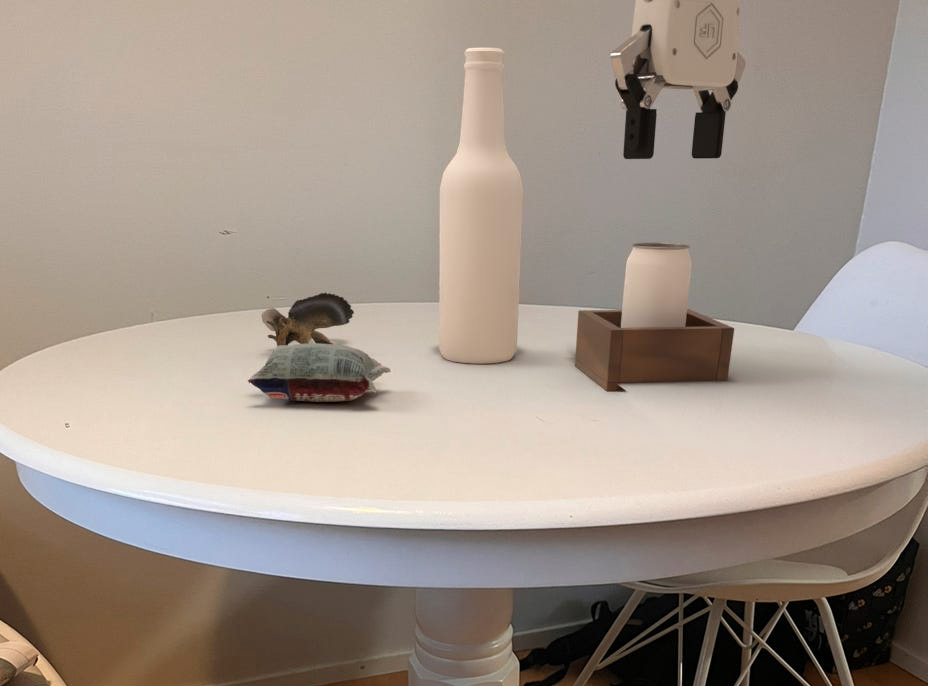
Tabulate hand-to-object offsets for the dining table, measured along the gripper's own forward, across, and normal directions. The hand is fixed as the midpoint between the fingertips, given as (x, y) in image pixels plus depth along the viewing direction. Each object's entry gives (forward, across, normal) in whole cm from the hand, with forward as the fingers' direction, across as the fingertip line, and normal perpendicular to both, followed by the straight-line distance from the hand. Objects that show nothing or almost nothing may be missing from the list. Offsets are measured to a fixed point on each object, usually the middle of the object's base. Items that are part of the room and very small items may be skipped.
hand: (672, 158), depth 93 cm
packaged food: (+20, -33, +13) cm, 40 cm away
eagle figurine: (+20, -22, +32) cm, 44 cm away
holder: (+20, 0, +1) cm, 21 cm away
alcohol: (+20, -8, +19) cm, 29 cm away
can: (+20, 0, +1) cm, 20 cm away
